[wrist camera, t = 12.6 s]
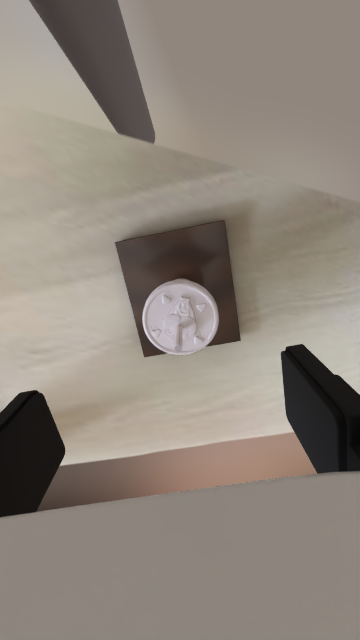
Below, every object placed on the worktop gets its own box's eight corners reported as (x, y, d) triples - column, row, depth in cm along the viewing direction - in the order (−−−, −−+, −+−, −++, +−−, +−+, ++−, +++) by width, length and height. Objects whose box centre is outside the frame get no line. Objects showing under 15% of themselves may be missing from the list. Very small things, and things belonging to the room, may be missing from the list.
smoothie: (149, 315, 33) (126, 374, 19) (158, 260, 31) (139, 285, 17) (202, 325, 33) (215, 390, 20) (214, 272, 31) (238, 304, 18)
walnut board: (118, 241, 31) (114, 242, 30) (222, 220, 31) (224, 220, 29) (145, 352, 36) (144, 357, 34) (238, 336, 35) (240, 340, 33)
